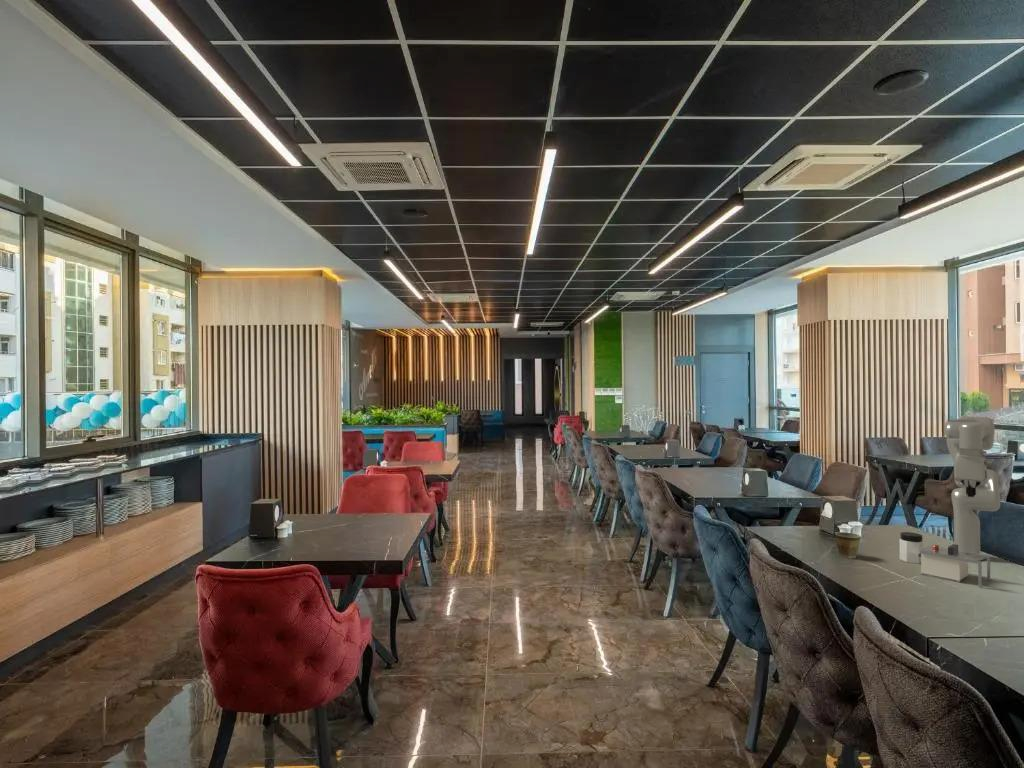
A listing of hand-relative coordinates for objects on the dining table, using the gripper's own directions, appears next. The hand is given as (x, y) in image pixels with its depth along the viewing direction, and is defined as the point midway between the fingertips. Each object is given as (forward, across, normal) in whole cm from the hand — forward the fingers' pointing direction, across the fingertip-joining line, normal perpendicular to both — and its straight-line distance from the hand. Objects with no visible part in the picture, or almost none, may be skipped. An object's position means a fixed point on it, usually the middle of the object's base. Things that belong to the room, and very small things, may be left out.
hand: (970, 496), depth 245 cm
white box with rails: (+32, +3, +13) cm, 35 cm away
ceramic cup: (+32, +44, +13) cm, 56 cm away
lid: (+23, +6, +13) cm, 27 cm away
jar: (+32, +22, -1) cm, 39 cm away
